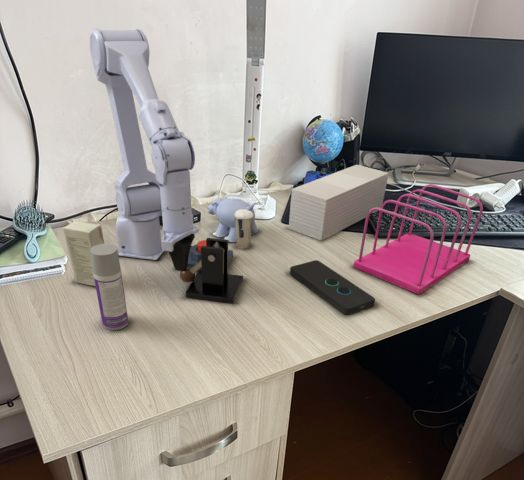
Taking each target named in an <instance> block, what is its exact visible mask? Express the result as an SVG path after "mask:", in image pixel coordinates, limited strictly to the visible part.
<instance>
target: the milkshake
mask: <svg viewBox="0 0 524 480" xmlns="http://www.w3.org/2000/svg"><path fill="white" fill-rule="evenodd" d="M234 218H235V227H236V242H235V243H236V247H237V248H238V249H241V250H246V249H249V248H250V246H251V236H252V234H251V229H252V222H253V213H252V212H251V211H249V210H247V209H239V210H237V211H236V212H235V214H234Z"/></svg>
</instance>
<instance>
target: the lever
mask: <svg viewBox="0 0 524 480" xmlns="http://www.w3.org/2000/svg"><path fill="white" fill-rule="evenodd" d="M211 247H217V248H223V247H222V246H221V245H220V244H219V243H218V242H216V243H214V244H213V245H212V246H211ZM224 251H225V250H224ZM201 267H202V264H201V261H199V262H198V263H197V264H196V265H195V266H193V267H192V268H189V267H187V268H186V269H185V271H180V272H179V278H180V280H181V281H182V282H183V283H185V284H189V283H190V284H191V283H192V281H193V280H194V279H195V276H196V273H197V272H198V271H197V270H199V269H200V268H201Z"/></svg>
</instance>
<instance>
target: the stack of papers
mask: <svg viewBox="0 0 524 480" xmlns="http://www.w3.org/2000/svg"><path fill="white" fill-rule="evenodd" d="M389 174H390V172H387V171H383V170H379V169H375V168H372V167H367V166H364V165H361V164H355V165H352V166H350V167H346V168H344V169H341V170H338V171H336V172H334V173H330V174H328V175H325V176H322V177H320V178H317V179H314V180H312V181H309V182H307V183H304V184H301V185H298V186H296V187H293V188H291V194H290V195H291V196H290V205H289V207H290V208H289V218H288V220H289V222H288V227H287V228H288V230H291V231H294V232H297V233H299V234H302V235H304V236H307V237H310V238H312V239H316V240H318V241H320V242H321V241H324V240H326V239H327V238H329V237H331V236H333V235H335V234H337V233H339V232H341V231H343V230H345V229H346V228H348V227H350V226H352V225H354V224H356V223H358V222H360V221H362V220H364V219H366V216H367V214H368V212H369V211H370V210H371V209H373V208H381V206H382V204H383V203H384V200H385V193H386V189H387V184H388V178H389ZM377 212H378V211H373V212H372V213H374V214H376V213H377Z"/></svg>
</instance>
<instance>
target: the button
mask: <svg viewBox="0 0 524 480" xmlns="http://www.w3.org/2000/svg"><path fill="white" fill-rule="evenodd" d="M196 244H197V250H198V252H200V253H201V247H202V246H206V239H204V240H203V239H202V240H199V241H198V242H197V243H196Z"/></svg>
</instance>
